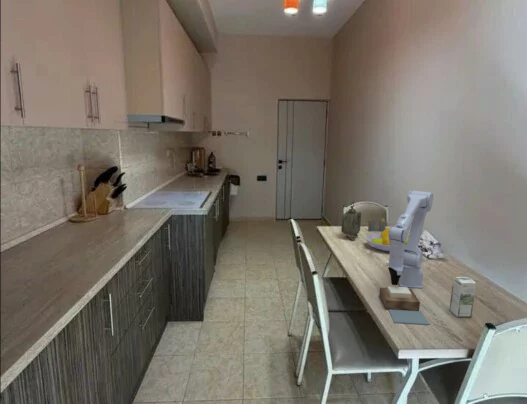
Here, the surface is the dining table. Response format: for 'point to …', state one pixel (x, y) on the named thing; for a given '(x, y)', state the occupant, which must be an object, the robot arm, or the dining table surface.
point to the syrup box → (462, 296)
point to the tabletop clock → (351, 222)
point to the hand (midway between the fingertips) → (394, 284)
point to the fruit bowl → (380, 240)
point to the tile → (399, 292)
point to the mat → (408, 317)
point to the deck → (399, 301)
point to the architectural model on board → (377, 225)
